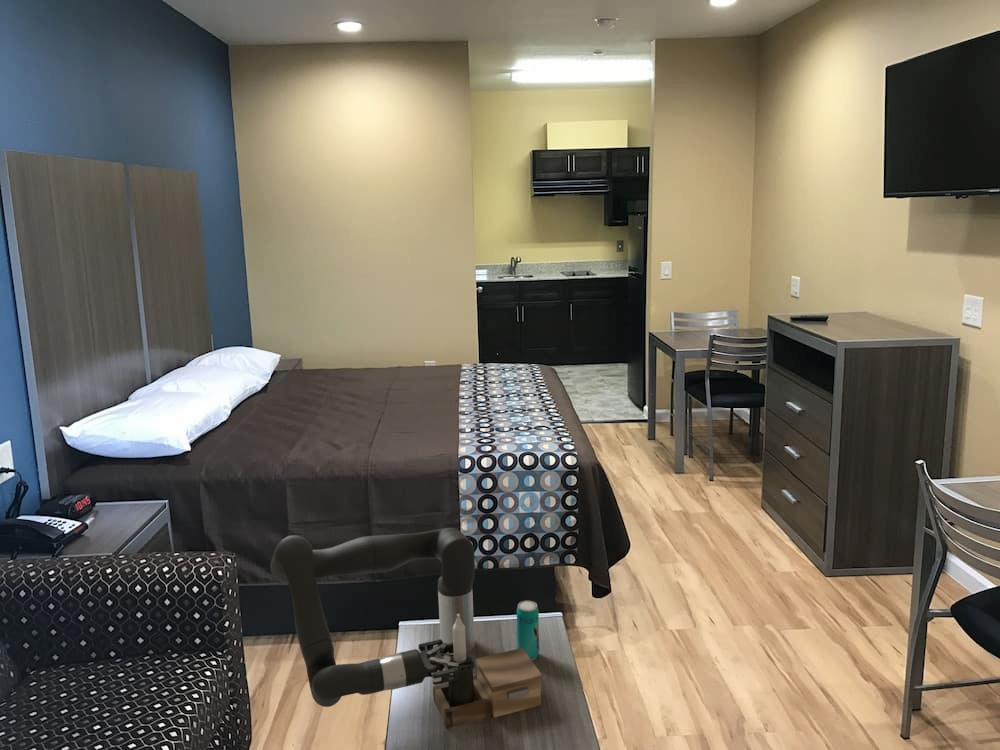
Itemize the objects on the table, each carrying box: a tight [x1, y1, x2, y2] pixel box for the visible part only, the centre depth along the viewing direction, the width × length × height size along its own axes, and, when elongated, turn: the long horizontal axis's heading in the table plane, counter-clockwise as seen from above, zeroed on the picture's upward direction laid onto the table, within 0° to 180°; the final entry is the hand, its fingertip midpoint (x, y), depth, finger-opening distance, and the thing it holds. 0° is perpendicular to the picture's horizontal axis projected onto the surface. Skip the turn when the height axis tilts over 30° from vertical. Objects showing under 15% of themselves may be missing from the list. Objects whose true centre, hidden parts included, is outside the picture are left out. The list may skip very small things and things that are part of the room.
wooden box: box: [432, 648, 543, 729], centre depth 187 cm, size 14×24×8 cm, turn 110°
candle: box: [447, 614, 475, 708], centre depth 183 cm, size 5×5×25 cm
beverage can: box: [516, 600, 540, 662], centre depth 205 cm, size 6×6×15 cm
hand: (468, 654), depth 184 cm, fingers open, 7 cm apart
